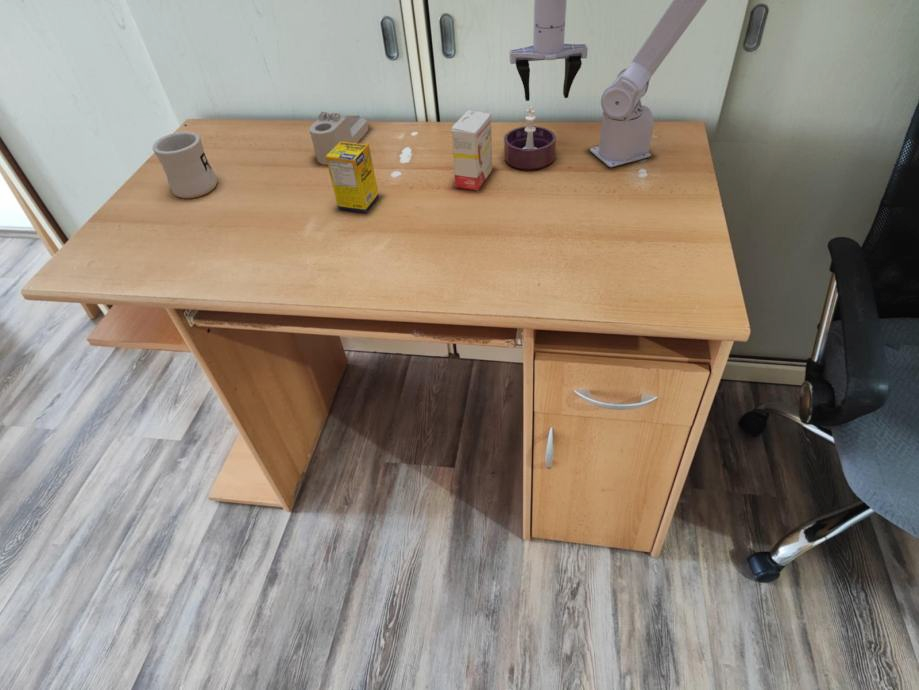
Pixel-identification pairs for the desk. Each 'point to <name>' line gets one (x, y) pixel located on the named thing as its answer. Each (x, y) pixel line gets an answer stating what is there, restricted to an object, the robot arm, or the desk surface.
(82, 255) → the desk surface
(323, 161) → the angled bracket with hole
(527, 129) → the chess piece
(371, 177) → the supplement box
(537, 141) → the bowl
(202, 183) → the mug
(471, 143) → the ink box
